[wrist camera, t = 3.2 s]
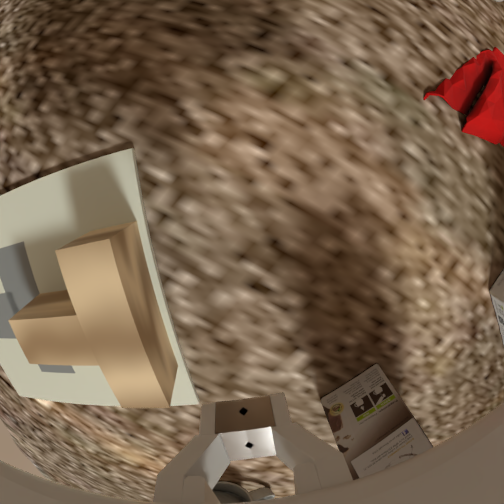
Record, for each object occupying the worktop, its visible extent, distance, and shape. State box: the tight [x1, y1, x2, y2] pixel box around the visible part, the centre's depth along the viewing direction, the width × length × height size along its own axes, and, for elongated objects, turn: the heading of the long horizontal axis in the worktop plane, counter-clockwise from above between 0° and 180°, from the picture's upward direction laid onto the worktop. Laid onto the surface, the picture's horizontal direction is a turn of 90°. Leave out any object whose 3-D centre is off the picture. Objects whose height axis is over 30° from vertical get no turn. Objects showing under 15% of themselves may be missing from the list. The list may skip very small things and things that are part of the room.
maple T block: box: [8, 221, 178, 408], centre depth 16 cm, size 11×10×4 cm
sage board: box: [0, 148, 199, 406], centre depth 18 cm, size 20×22×1 cm
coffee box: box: [321, 364, 433, 480], centre depth 16 cm, size 9×6×16 cm
